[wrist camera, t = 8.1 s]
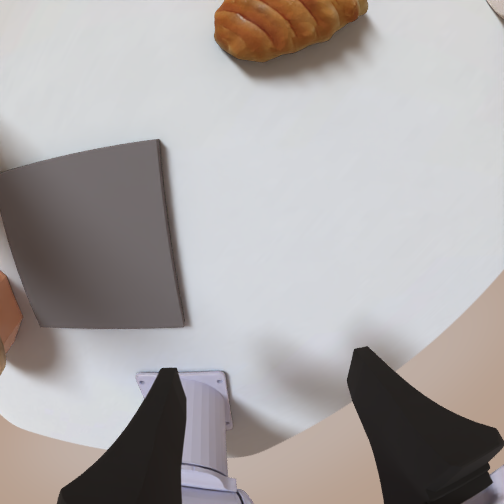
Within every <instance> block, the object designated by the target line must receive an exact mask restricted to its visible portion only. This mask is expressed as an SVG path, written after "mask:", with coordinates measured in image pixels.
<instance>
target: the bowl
mask: <svg viewBox="0 0 504 504" xmlns="http://www.w3.org/2000/svg"><path fill="white" fill-rule="evenodd" d="M22 318H23V316H22V313H21V311H20V309H19V307H18V304H17V302H16V299H15V297H14V295H13V292H12V290H11V287H10V284H9V282H8V279H7V276H6V275H4V274H3V273H2V272H1V271H0V337H1V339H2V342H3V345H4V349H5V353H7V351H8V350H9V348H10V347H11V345H12V344H13V342H14V341H15V338H16V335H17V332H18V329H19V326H20V324H21V321H22Z"/></svg>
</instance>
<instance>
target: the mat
mask: <svg viewBox="0 0 504 504" xmlns="http://www.w3.org/2000/svg"><path fill="white" fill-rule="evenodd" d="M0 211H1V215H2V219H3V223H4V227H5V231H6V235H7V238H8V242H9V245H10V248H11V252H12V255H13V258H14V261H15V264H16V267H17V270H18V273H19V276H20V278H21V281H22V284H23V287H24V289H25V292H26V294H27V297H28V299H29V302H30V304H31V307H32V309H33V311H34V314H35V316H36V318H37V320H38V323H39V325H40V327H53V328H88V329H140V328H177V327H184V322H185V319H184V314H183V309H182V304H181V299H180V293H179V288H178V282H177V276H176V270H175V264H174V258H173V252H172V245H171V238H170V232H169V224H168V217H167V209H166V201H165V193H164V184H163V175H162V166H161V155H160V144H159V139H155V140H147V141H140V142H134V143H127V144H121V145H115V146H109V147H104V148H98V149H93V150H88V151H83V152H78V153H74V154H69V155H65V156H60V157H56V158H52V159H48V160H44V161H40V162H36V163H33V164H29V165H25V166H22V167H18V168H15V169H11V170H8V171H5V172H2V173H0Z"/></svg>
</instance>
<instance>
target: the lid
mask: <svg viewBox="0 0 504 504" xmlns="http://www.w3.org/2000/svg"><path fill="white" fill-rule="evenodd" d="M5 365H6V353H5V349H4V345H3V342H2V339H1V337H0V375H1V373H2V371H3V370H4V368H5Z"/></svg>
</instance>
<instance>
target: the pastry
mask: <svg viewBox="0 0 504 504" xmlns="http://www.w3.org/2000/svg"><path fill="white" fill-rule="evenodd" d="M367 10H368V2H367V0H224V2H223V4H222V5H221V6H220V8H219V9H218V10H217V11H216V12H215V22H214V24H215V34H214V38H215V41H216V42H217V44H218V45H219V46H220V47H221V48H222V49H223V50H224V51H226V52H227V53H229V54H231V55H232V56H234V57H236V58H238V59H242V60H250V61H256V62H266V61H268V60H271V59H273V58H275V57H278V56H280V55H283V54H288V53H295V52H297V51H299V50H302V49H304V48H305V47H307V46H309V45H312V44H315V43H321V42H325V41H328V40H329V39H330V38H331V37H332V35H333V34H334V33H335V32H336V31H337V30H339V29H341V28H342V27H344V26H345V25H346V24H348V23H349V22H353V21H355V20H356V19H357V18H358V16H361V15H364V14H365V13H366V12H367Z"/></svg>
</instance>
